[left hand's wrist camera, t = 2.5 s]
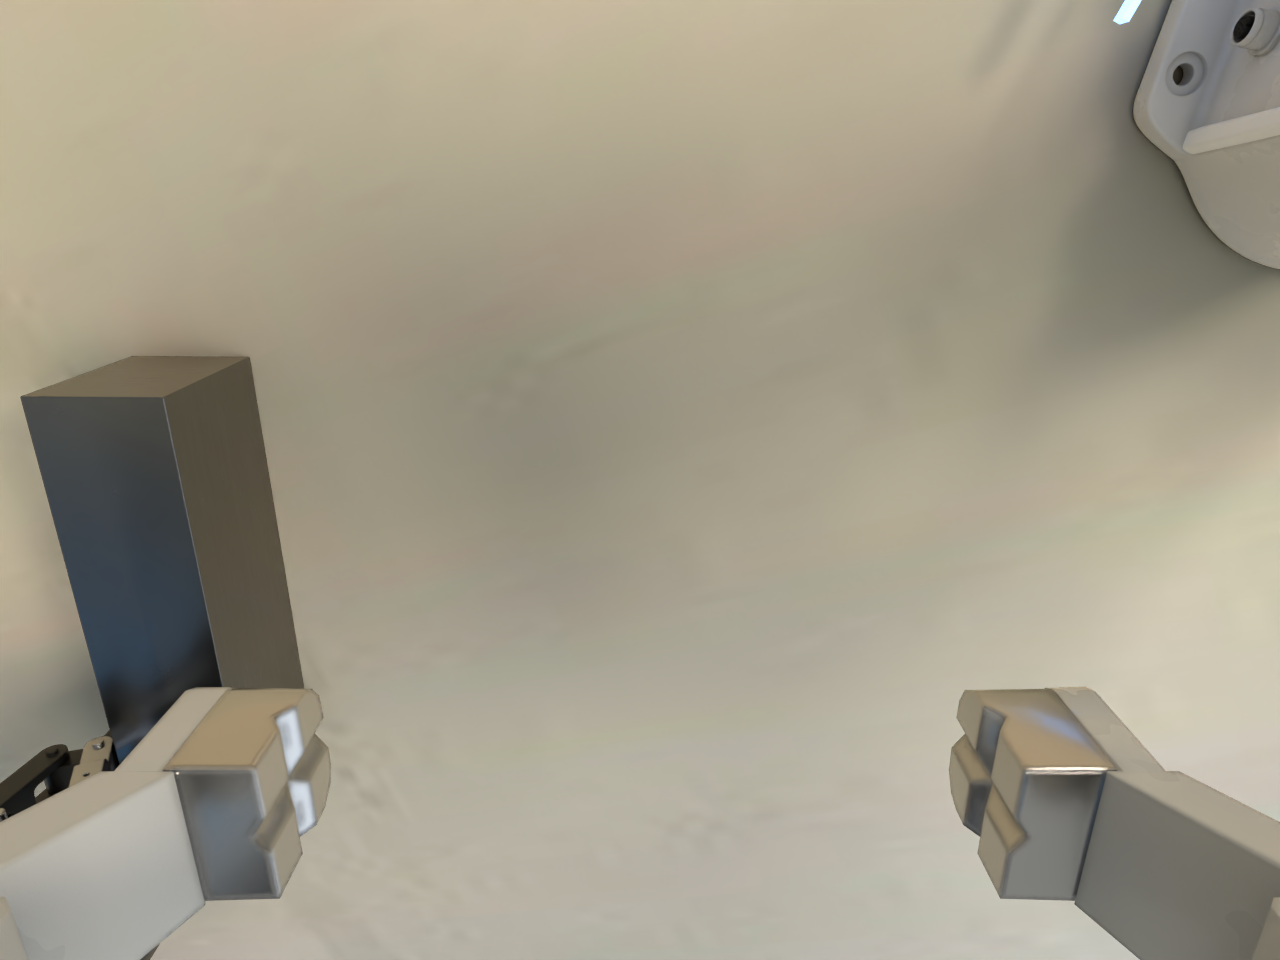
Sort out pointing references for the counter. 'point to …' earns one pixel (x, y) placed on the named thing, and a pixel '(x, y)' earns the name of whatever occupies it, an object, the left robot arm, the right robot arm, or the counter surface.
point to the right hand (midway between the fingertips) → (222, 710)
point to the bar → (166, 531)
